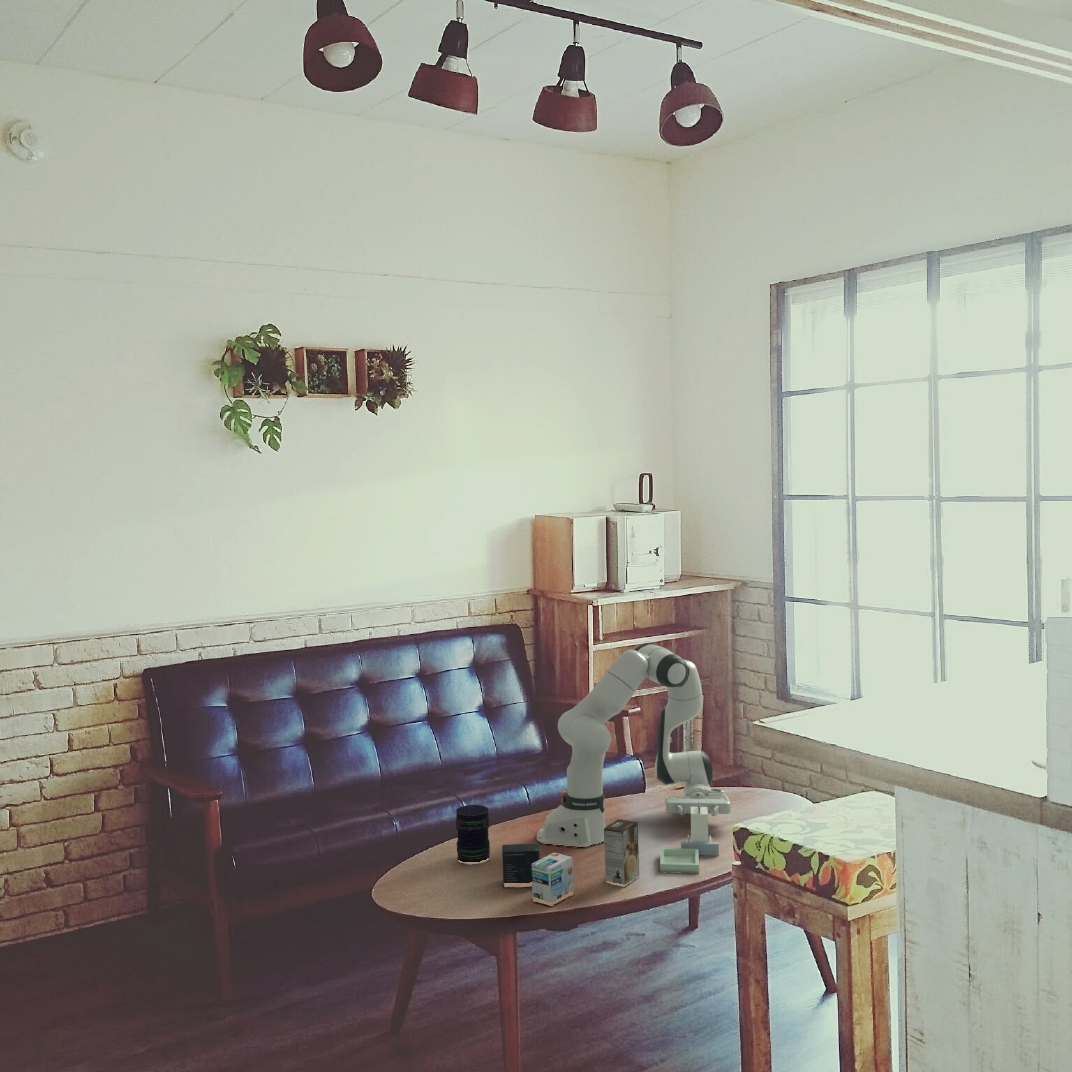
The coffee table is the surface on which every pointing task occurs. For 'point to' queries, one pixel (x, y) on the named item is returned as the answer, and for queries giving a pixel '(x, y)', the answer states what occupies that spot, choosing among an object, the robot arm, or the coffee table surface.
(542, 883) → the light bulb box
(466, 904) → the coffee table surface
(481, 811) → the storage jar
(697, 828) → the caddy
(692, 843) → the dock
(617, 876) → the coffee box
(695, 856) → the tray
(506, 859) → the box
